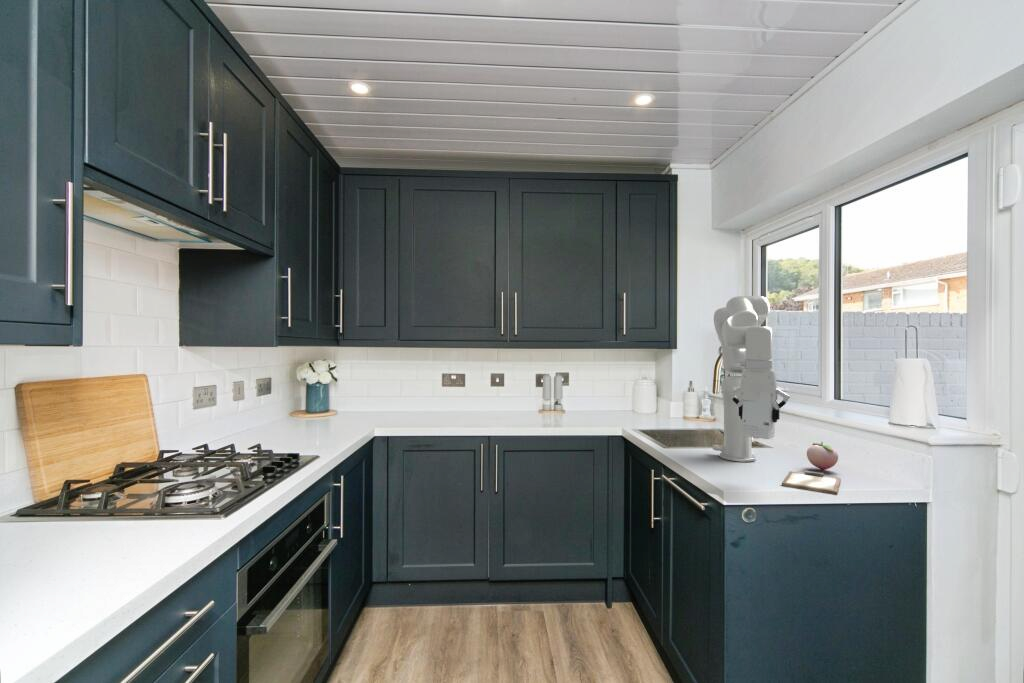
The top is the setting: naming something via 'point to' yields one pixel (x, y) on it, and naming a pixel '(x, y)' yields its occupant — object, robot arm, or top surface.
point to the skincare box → (758, 417)
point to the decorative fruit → (822, 456)
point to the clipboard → (812, 482)
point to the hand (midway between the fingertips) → (758, 420)
